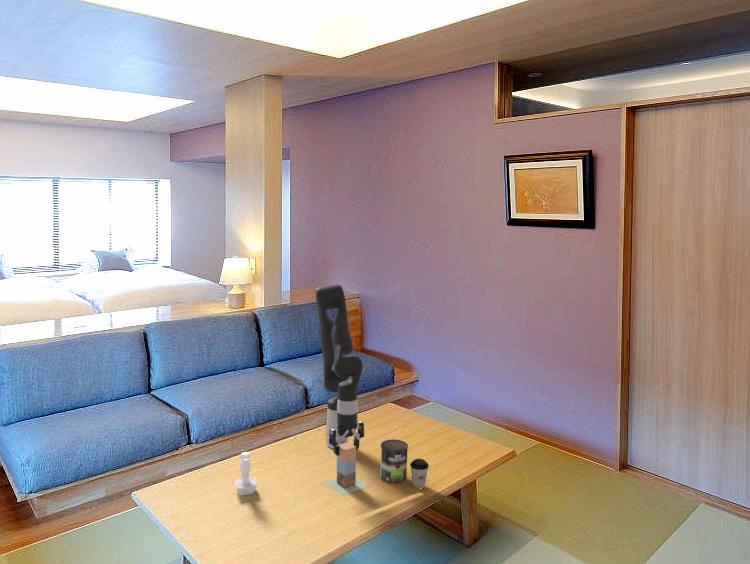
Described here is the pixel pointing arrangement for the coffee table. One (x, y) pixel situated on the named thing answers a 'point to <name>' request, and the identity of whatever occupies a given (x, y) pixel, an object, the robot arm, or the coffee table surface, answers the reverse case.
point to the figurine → (245, 477)
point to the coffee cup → (419, 472)
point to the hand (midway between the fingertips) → (346, 452)
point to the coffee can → (393, 461)
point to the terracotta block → (347, 452)
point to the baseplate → (343, 491)
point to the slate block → (346, 467)
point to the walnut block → (346, 480)
